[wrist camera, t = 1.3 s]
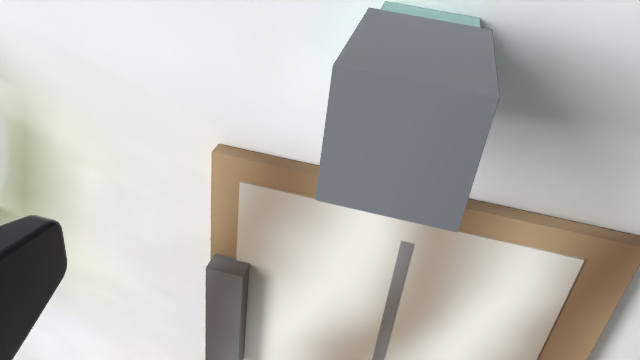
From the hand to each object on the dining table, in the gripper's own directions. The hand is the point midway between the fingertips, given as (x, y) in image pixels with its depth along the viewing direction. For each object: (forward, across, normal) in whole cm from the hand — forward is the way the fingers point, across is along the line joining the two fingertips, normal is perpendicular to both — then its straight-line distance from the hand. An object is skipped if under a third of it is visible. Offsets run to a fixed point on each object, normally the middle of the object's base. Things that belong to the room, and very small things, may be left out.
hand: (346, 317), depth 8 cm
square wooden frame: (+12, -1, +13) cm, 18 cm away
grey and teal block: (+12, 0, 0) cm, 12 cm away
